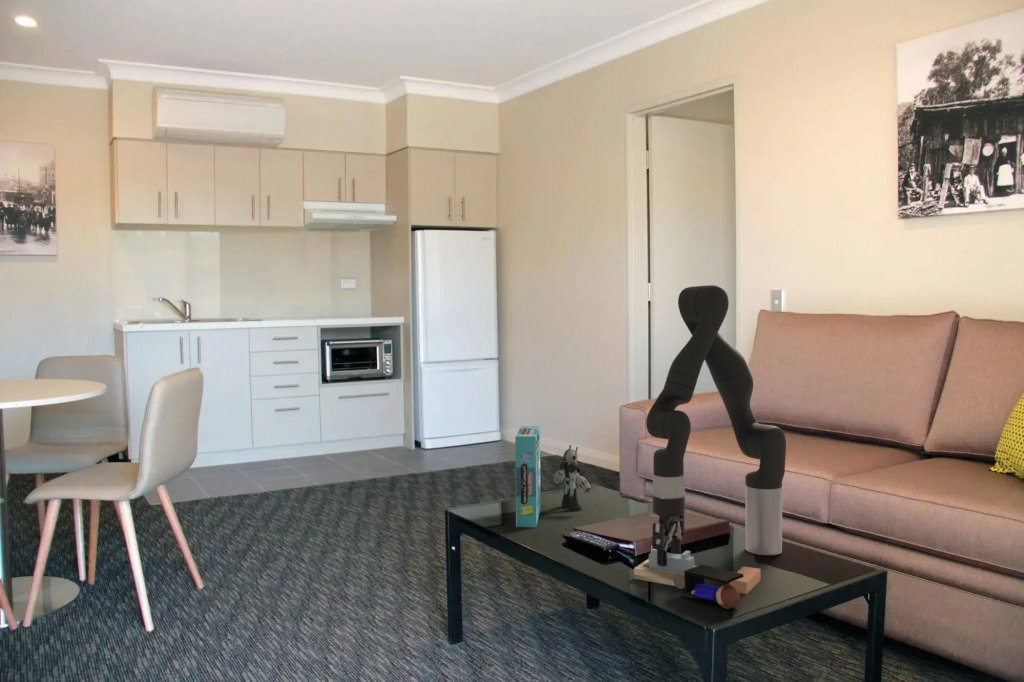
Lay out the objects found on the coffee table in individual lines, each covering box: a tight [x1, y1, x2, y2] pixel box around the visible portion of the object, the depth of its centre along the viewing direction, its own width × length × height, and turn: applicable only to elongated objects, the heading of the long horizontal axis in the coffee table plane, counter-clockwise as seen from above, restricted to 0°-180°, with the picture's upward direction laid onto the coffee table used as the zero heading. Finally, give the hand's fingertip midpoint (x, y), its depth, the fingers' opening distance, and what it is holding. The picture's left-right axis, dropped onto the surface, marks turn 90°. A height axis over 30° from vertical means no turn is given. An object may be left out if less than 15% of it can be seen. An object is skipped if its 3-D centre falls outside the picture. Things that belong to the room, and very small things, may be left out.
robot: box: [552, 444, 592, 512], centre depth 269 cm, size 20×5×20 cm, turn 29°
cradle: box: [633, 558, 697, 587], centre depth 200 cm, size 9×14×2 cm, turn 57°
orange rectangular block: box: [728, 565, 762, 595], centre depth 194 cm, size 11×4×3 cm, turn 148°
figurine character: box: [673, 564, 744, 610], centre depth 184 cm, size 7×8×15 cm
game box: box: [514, 425, 542, 528], centre depth 256 cm, size 20×6×27 cm, turn 175°
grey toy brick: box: [648, 545, 695, 573], centre depth 199 cm, size 3×10×6 cm, turn 58°
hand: (669, 561), depth 199 cm, fingers open, 8 cm apart
